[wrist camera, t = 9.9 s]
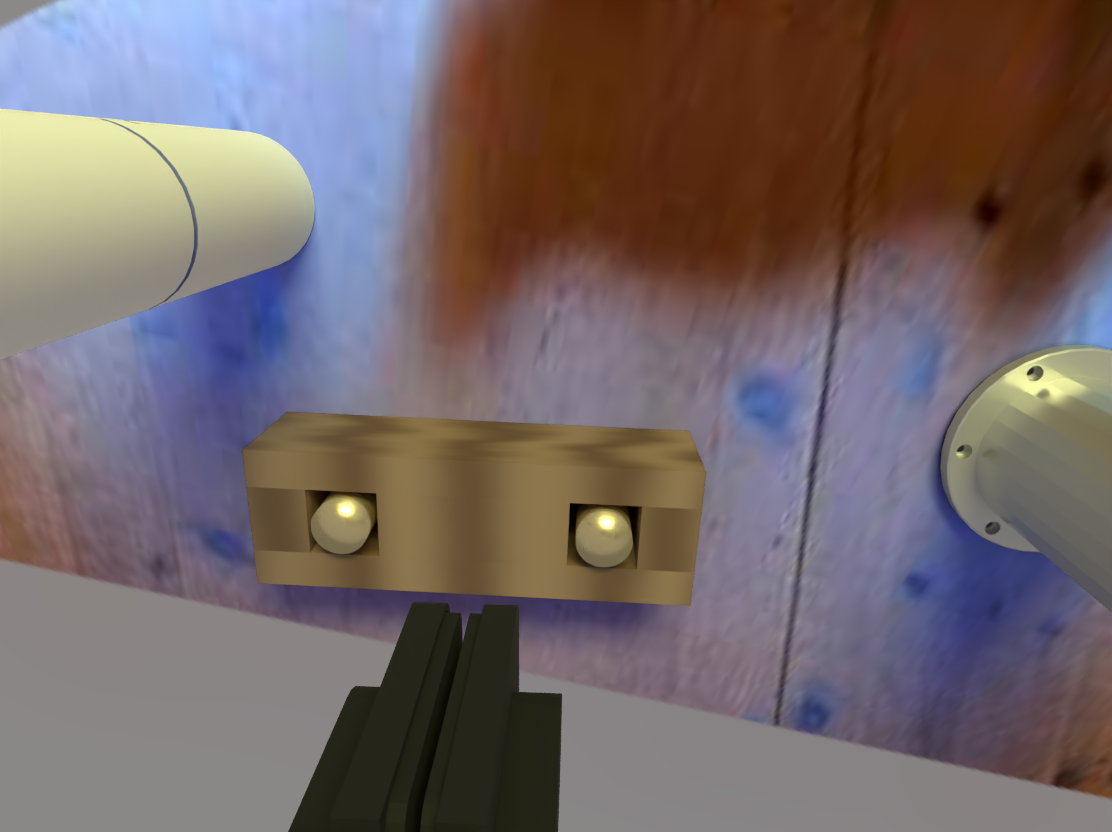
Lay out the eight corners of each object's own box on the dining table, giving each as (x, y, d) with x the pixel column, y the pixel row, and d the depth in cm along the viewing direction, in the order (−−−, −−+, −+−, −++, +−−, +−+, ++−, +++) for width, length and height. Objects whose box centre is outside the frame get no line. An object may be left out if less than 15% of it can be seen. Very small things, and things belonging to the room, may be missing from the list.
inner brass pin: (627, 471, 43) (634, 518, 37) (624, 515, 44) (630, 568, 38) (577, 468, 43) (577, 515, 37) (575, 513, 44) (574, 565, 38)
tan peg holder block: (689, 431, 42) (706, 472, 37) (676, 549, 45) (690, 605, 39) (287, 411, 43) (242, 449, 37) (298, 530, 45) (257, 583, 40)
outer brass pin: (394, 459, 43) (365, 504, 37) (396, 504, 44) (368, 555, 38) (344, 457, 43) (308, 502, 37) (347, 502, 44) (312, 552, 38)
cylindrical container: (290, 290, 40) (-122, 471, 17) (168, 232, 39) (-448, 338, 16) (333, 169, 38) (-73, 182, 14) (204, 106, 37) (-451, 8, 14)
